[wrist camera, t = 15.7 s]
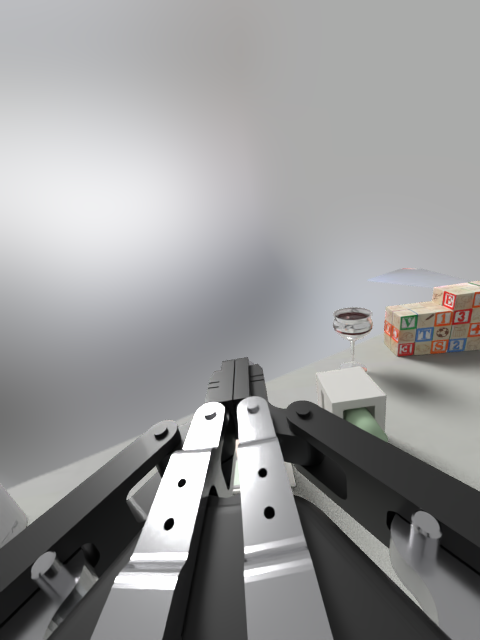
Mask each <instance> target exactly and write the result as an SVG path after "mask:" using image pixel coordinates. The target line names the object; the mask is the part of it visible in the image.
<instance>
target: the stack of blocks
mask: <svg viewBox="0 0 480 640" xmlns="http://www.w3.org/2000/svg"><path fill="white" fill-rule="evenodd" d="M384 331H385V332H384V343H385V344H386V346H387V347H388V348H389V349H390V350H391V351H392V352H393V353H394V354H395V355H396V356H407V355H424V354H436V353H446V352H458V351H469V350H480V281H473V282H468V283H461V284H454V285H447V286H439V287H434V290H433V296H432V301H430V302H421V303H412V304H404V305H397V306H389V307H386V314H385V326H384Z"/></svg>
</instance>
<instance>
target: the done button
mask: <svg viewBox="0 0 480 640" xmlns="http://www.w3.org/2000/svg"><path fill="white" fill-rule="evenodd" d="M343 419H344V420H346V421H348V422H350V423H352V424H353V425H355V426H357V427H359V428H361V429H363V430H365V431H367V432H369V433H370V434H372V435H374V436H376V437H378V438H380V439H382V440H384V441H385V442H387V441H388V438H387V435H386V434H385V433H384V431H383V430H382V429H381V427H380V426H379V424H378V423H377V422H376V420H375V419H374V417H373V416H372V415H371V413H370V412H369V411H368V409H367V408H366V407H361V408H354V409H347V410H344V411H343Z"/></svg>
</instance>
